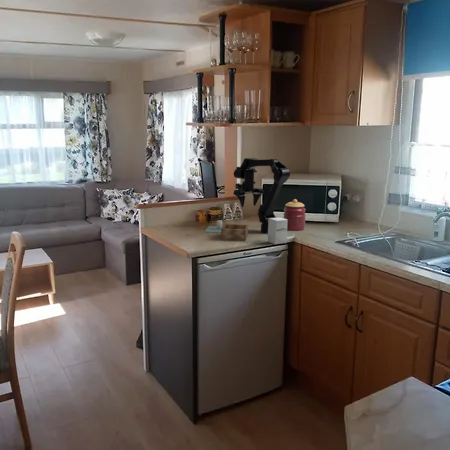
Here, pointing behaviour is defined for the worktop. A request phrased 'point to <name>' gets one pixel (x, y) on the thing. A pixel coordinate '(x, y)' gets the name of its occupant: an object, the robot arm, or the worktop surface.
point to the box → (234, 232)
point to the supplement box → (277, 230)
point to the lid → (215, 227)
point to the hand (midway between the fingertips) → (248, 206)
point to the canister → (295, 215)
